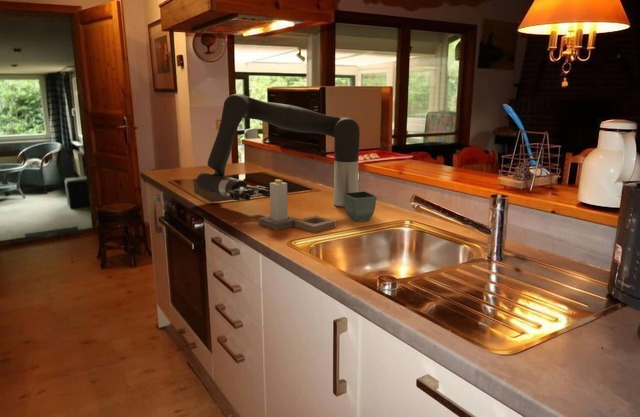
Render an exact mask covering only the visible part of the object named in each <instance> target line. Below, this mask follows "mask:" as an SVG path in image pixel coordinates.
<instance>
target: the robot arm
mask: <svg viewBox="0 0 640 417" xmlns="http://www.w3.org/2000/svg"><path fill="white" fill-rule="evenodd" d="M222 106H223V107H222V114H221V118H220V124H219V126H218V127H219V128H218V132H217V134H216V137H215V140H214V143H213V145H212V147H211V151H210V154H209V156H208V160H207V166H208V168H210V169H212V170H214V173H209V172H201V173H199V174H198V175H197V176H196V179H195V184H196V186H197V188H198V189H199V190H200V191H203V192H208V193H213V194H217V195H220V196H223V197H225V198H228V199H230V200H232V201H233V200H234V201H237V202H240V201H243V200H244V201H248V202H249V201H251V197H252V198H253V197H255V198H258V196H260V197H262V196H263V197H267V198H270V189H269V188H268V187H266V186H262V185H258V184H257V185H256V186H253V185H249V184H248V183H247V182H246V181H245V180H242V179H240V178H239V179H238V178H234V177H227V176H225V174H226V166H227V164H228V161H229V157H230V155H231V151H232V149H233V148H232V147H233V142H234V138H235V134H236V132H237V130H238V127H239V125H240V123H241V121H242V120H243V119H248V120H255V121H260V122H265V123H267V124H270V125H272V126H274V127H276V128H279V129H283V130H288V131H292V132H297V133H305V134H306V133H307V134H321V135H326V136H328V137H332V138H334V144H333V146H334V148H333V151H334V153H333V157H334V158H333V160H334V161H333V162H334V163H333V205H334V206H336V207H341V208H342V207H344V208H345V205H344V196H343V193H353V192H360V186H361V185H360V184H361V183H360V179H359V157H360V156H359V155H360V154H359V153H360V126H359V124H358V122H357V121H356V120H355V119H354V118H352V117H348V116H345V117H343V116H335V115H327V114H323V113H320V112H317V111H314V110H310V109H308V108H304V107H301V106H295V105H293V104H284V103H278V102H269V101H264V100H260V99H257V98H253V97H250V96H247V95H244V94H241V93H234V94H231V95H229V96H227V97H226V98H225V100H224V103H223V105H222ZM268 189H269V190H268Z"/></svg>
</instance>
